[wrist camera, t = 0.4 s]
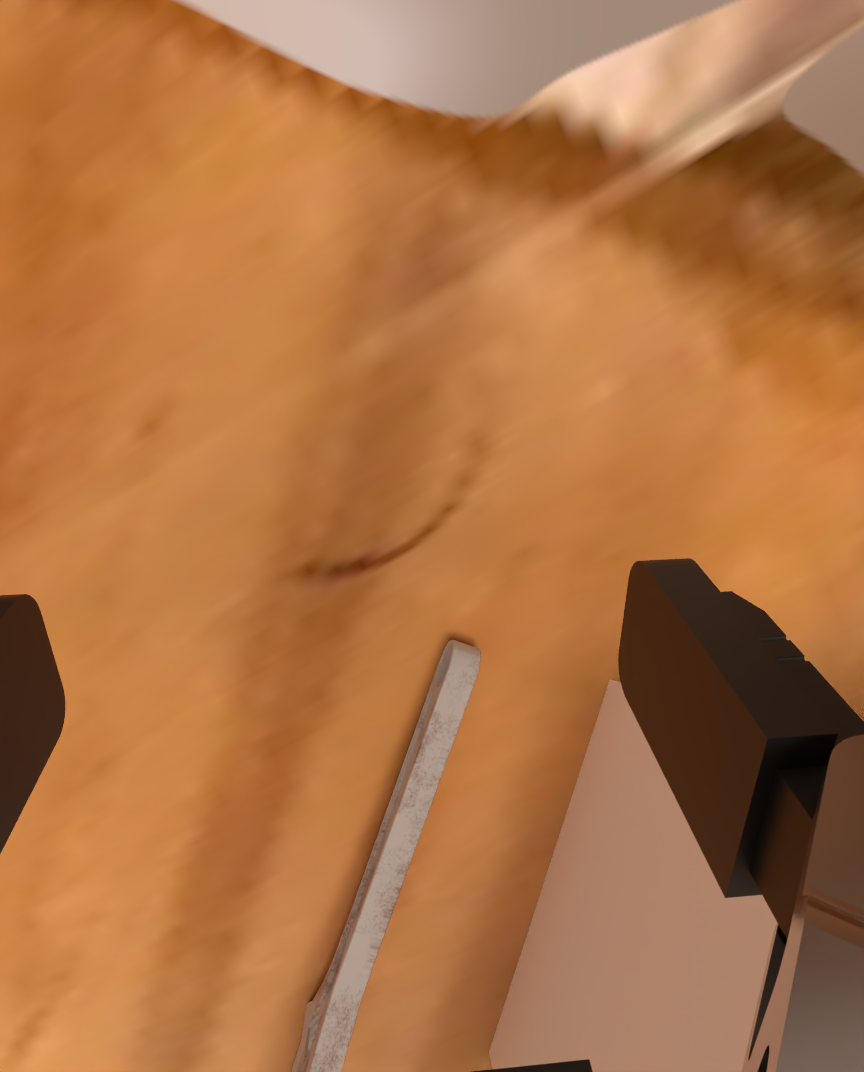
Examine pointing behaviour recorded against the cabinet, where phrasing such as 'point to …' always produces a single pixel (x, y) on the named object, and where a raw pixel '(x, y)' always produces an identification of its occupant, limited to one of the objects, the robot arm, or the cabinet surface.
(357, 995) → the wrench
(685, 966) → the cube
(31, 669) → the robot arm
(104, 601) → the cabinet surface
